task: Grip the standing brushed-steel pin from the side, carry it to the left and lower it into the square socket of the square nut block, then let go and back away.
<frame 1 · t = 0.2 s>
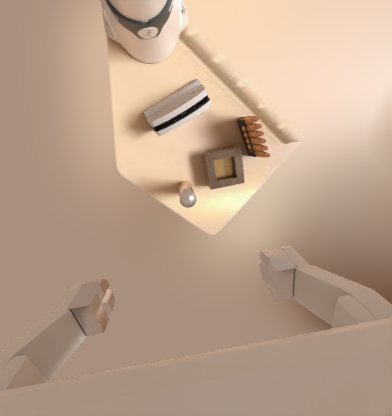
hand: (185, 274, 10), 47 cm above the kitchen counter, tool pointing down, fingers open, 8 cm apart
pin: (185, 187, 57), on the kitchen counter
square nut block: (222, 166, 56), on the kitchen counter
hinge: (177, 110, 50), on the kitchen counter
ammunition clip: (245, 137, 54), on the kitchen counter
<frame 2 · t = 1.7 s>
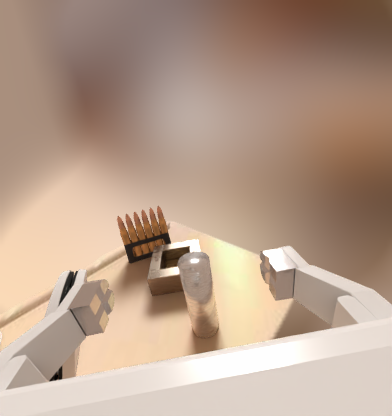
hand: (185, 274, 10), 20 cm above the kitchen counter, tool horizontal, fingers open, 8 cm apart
pin: (205, 324, 28), on the kitchen counter
square nut block: (179, 272, 39), on the kitchen counter
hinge: (74, 335, 30), on the kitchen counter
ammunition clip: (151, 254, 46), on the kitchen counter
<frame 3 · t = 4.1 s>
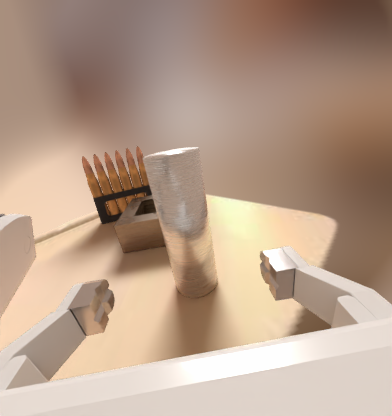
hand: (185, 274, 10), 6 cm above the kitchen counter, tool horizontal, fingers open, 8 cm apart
pin: (196, 280, 18), on the kitchen counter
square nut block: (164, 227, 29), on the kitchen counter
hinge: (1, 303, 20), on the kitchen counter
ammunition clip: (132, 215, 36), on the kitchen counter
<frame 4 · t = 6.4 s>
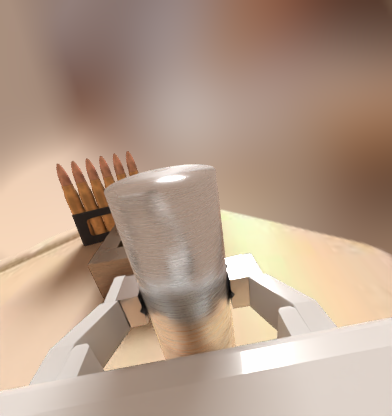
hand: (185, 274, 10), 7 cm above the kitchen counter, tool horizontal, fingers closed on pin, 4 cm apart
pin: (204, 365, 12), on the kitchen counter, touching gripper
square nut block: (159, 256, 23), on the kitchen counter
ammunition clip: (121, 234, 30), on the kitchen counter
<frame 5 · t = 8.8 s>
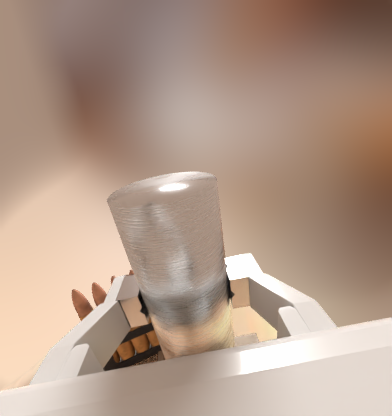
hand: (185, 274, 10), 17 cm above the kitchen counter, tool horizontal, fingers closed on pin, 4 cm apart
pin: (205, 367, 12), point 10 cm above the kitchen counter, touching gripper
ammunition clip: (152, 348, 23), on the kitchen counter
when the fingers open (9 cm above the kitchen counter, at t = 11.4 s): pin stays where it is, resting on square nut block.
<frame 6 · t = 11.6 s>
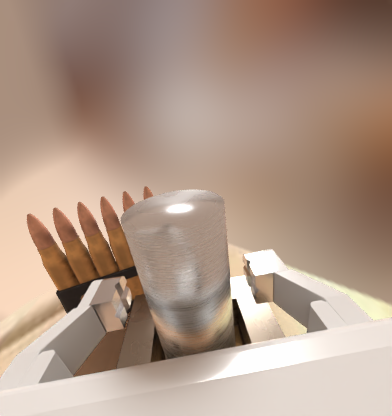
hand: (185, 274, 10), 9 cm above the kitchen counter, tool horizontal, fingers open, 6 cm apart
pin: (206, 375, 12), point 1 cm above the kitchen counter, touching square nut block
square nut block: (209, 385, 13), on the kitchen counter
ammunition clip: (134, 304, 20), on the kitchen counter
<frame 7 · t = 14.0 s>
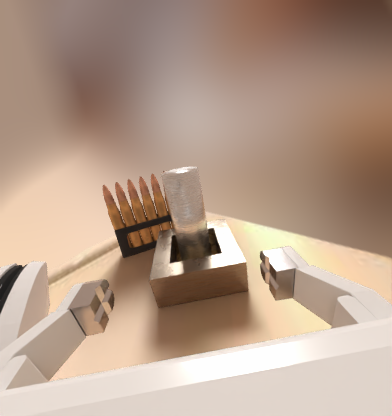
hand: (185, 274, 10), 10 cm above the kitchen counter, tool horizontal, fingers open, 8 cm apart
pin: (197, 261, 25), point 1 cm above the kitchen counter, touching square nut block
square nut block: (199, 268, 25), on the kitchen counter
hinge: (24, 376, 17), on the kitchen counter
ammunition clip: (155, 245, 32), on the kitchen counter
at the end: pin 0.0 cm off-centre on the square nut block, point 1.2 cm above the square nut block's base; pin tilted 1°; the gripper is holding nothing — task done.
